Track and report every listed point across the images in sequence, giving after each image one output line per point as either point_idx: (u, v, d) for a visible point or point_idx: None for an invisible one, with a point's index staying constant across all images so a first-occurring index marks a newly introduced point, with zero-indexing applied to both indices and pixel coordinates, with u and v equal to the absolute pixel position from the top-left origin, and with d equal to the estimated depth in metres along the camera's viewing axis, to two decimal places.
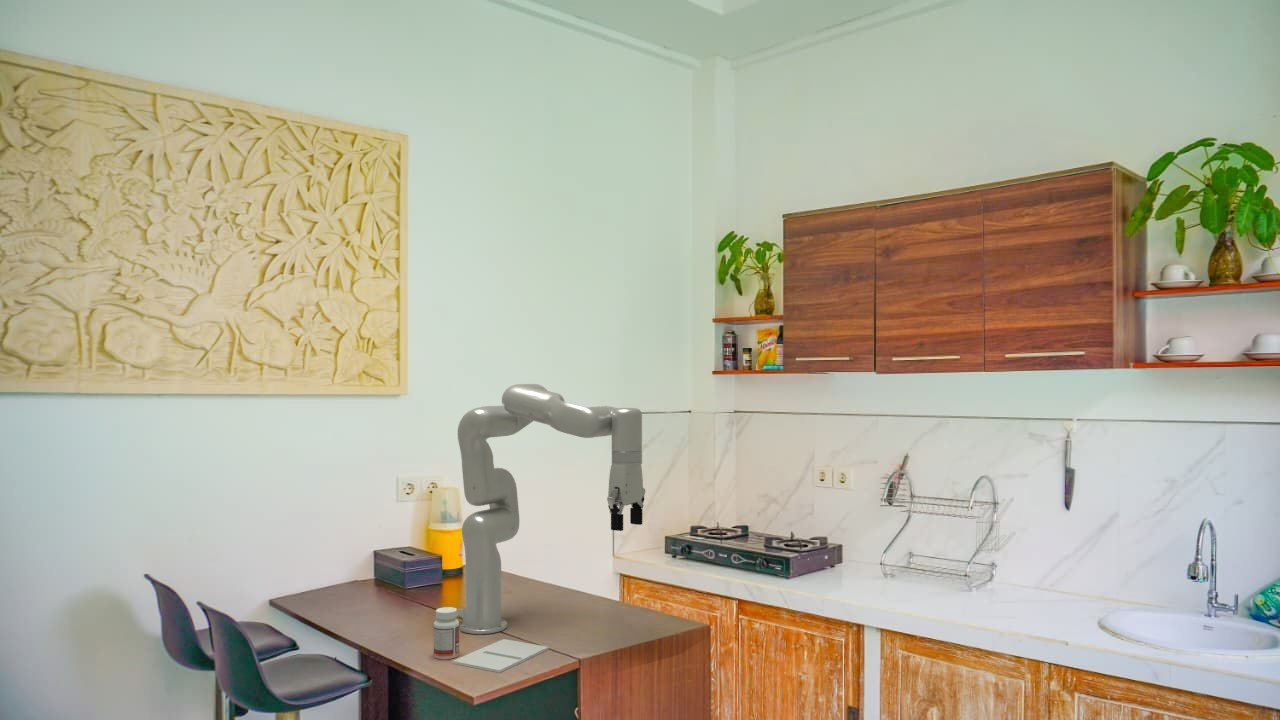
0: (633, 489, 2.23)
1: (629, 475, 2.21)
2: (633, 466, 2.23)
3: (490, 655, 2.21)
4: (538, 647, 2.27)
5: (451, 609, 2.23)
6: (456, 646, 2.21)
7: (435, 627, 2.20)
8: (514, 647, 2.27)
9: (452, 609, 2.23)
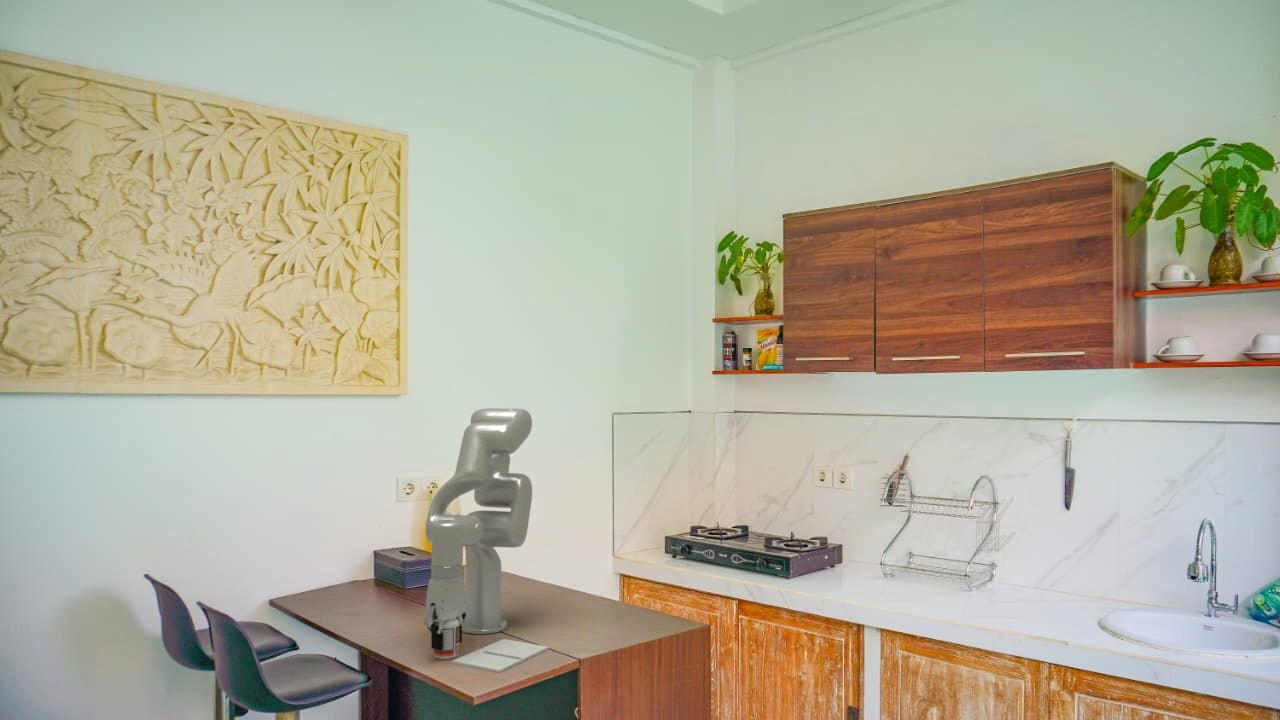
0: (451, 604, 2.20)
1: (446, 591, 2.19)
2: (451, 581, 2.20)
3: (490, 655, 2.21)
4: (538, 647, 2.27)
5: None
6: (456, 646, 2.21)
7: None
8: (514, 647, 2.27)
9: None
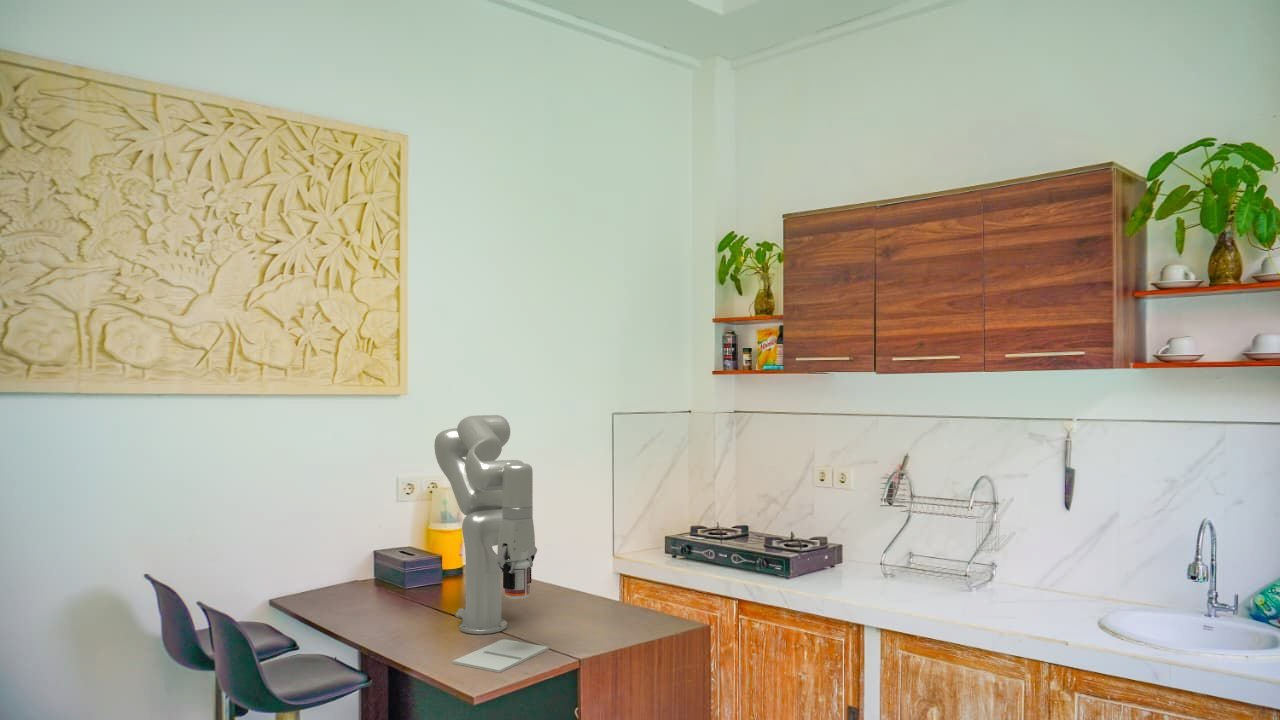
0: (522, 545, 2.24)
1: (518, 531, 2.23)
2: (522, 522, 2.24)
3: (490, 655, 2.21)
4: (538, 647, 2.27)
5: None
6: (527, 586, 2.25)
7: None
8: (514, 647, 2.27)
9: None
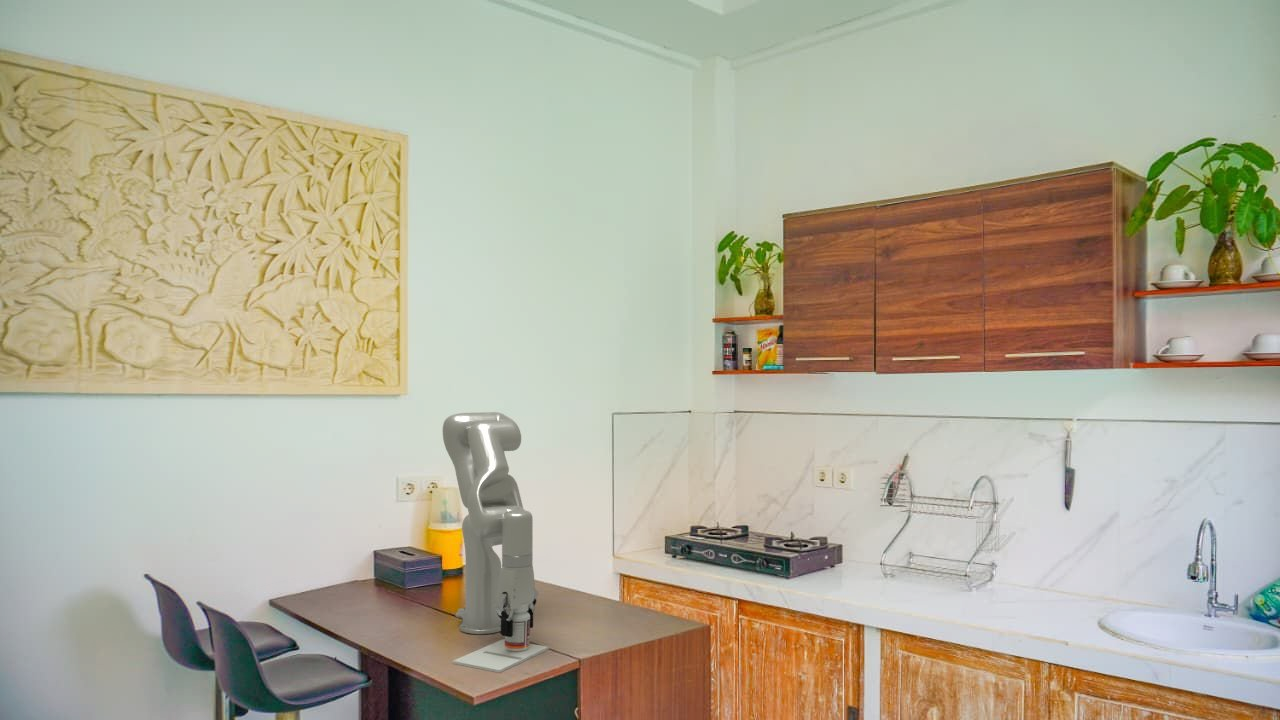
0: (522, 593, 2.24)
1: (518, 580, 2.23)
2: (522, 570, 2.24)
3: (490, 655, 2.21)
4: (538, 647, 2.27)
5: None
6: (527, 639, 2.25)
7: None
8: None
9: None
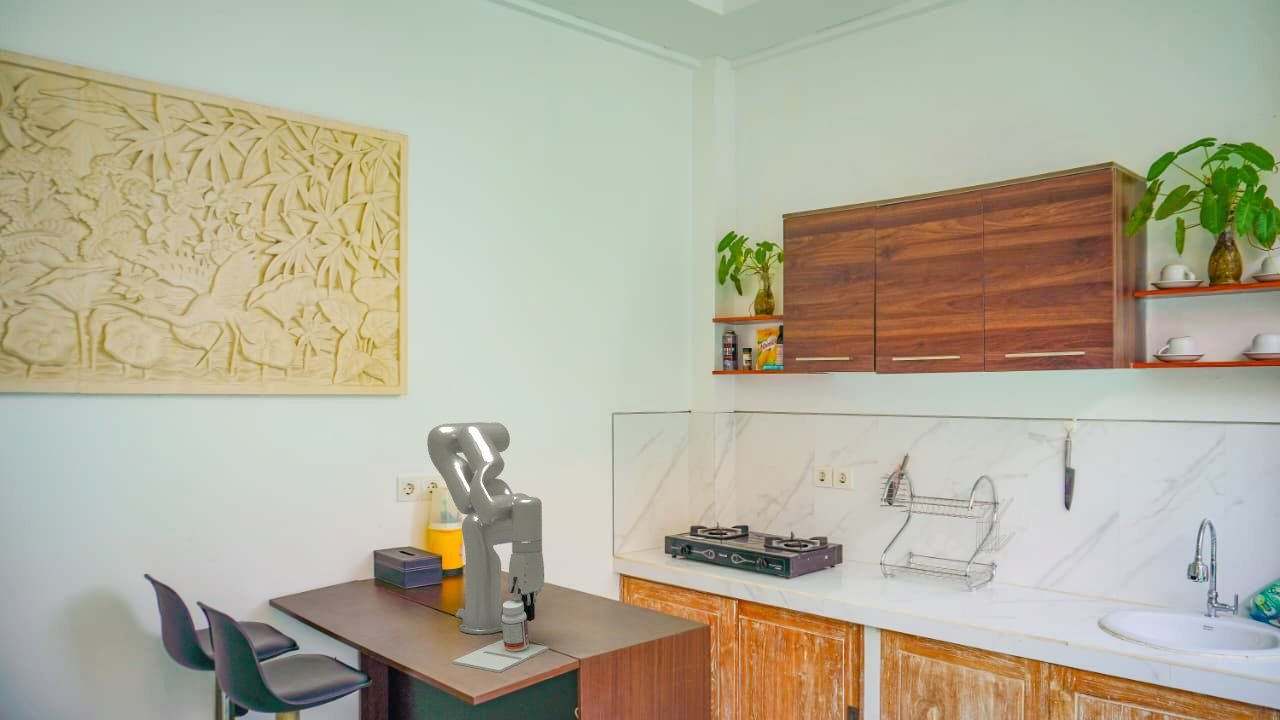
0: (533, 578, 2.27)
1: (528, 565, 2.26)
2: (532, 555, 2.27)
3: (490, 655, 2.21)
4: (538, 647, 2.27)
5: (517, 602, 2.25)
6: (526, 638, 2.24)
7: (504, 622, 2.23)
8: None
9: (518, 602, 2.25)
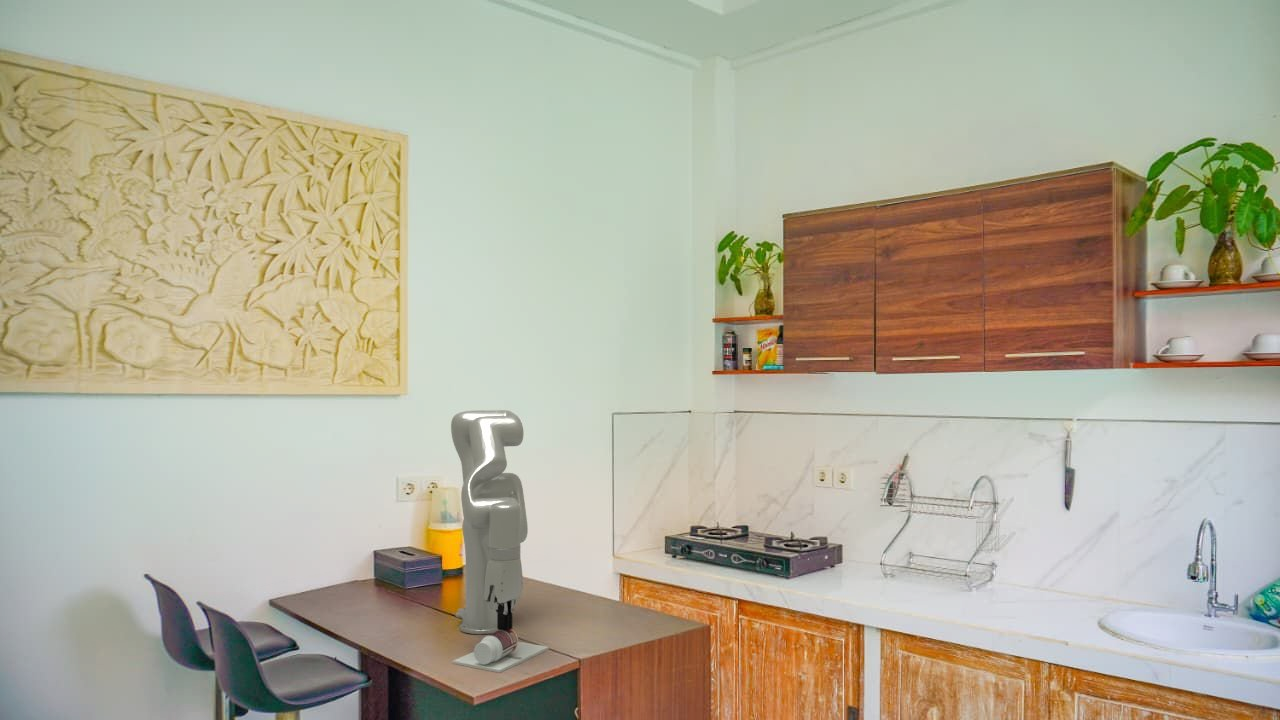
0: (510, 586, 2.19)
1: (505, 573, 2.18)
2: (510, 563, 2.19)
3: None
4: (538, 647, 2.27)
5: (485, 649, 2.13)
6: (513, 643, 2.20)
7: None
8: None
9: (486, 649, 2.12)
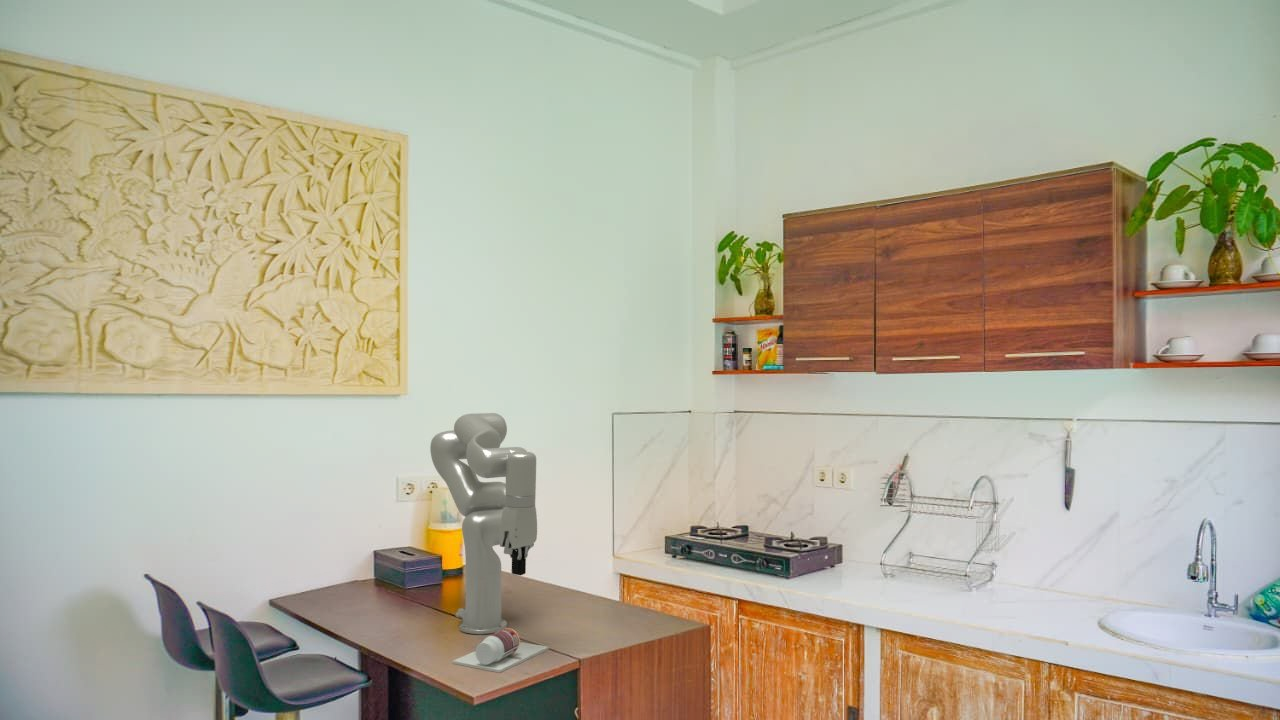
0: (524, 533, 2.26)
1: (520, 519, 2.24)
2: (525, 510, 2.25)
3: None
4: (538, 647, 2.27)
5: (487, 650, 2.12)
6: (514, 645, 2.19)
7: None
8: None
9: (488, 650, 2.12)
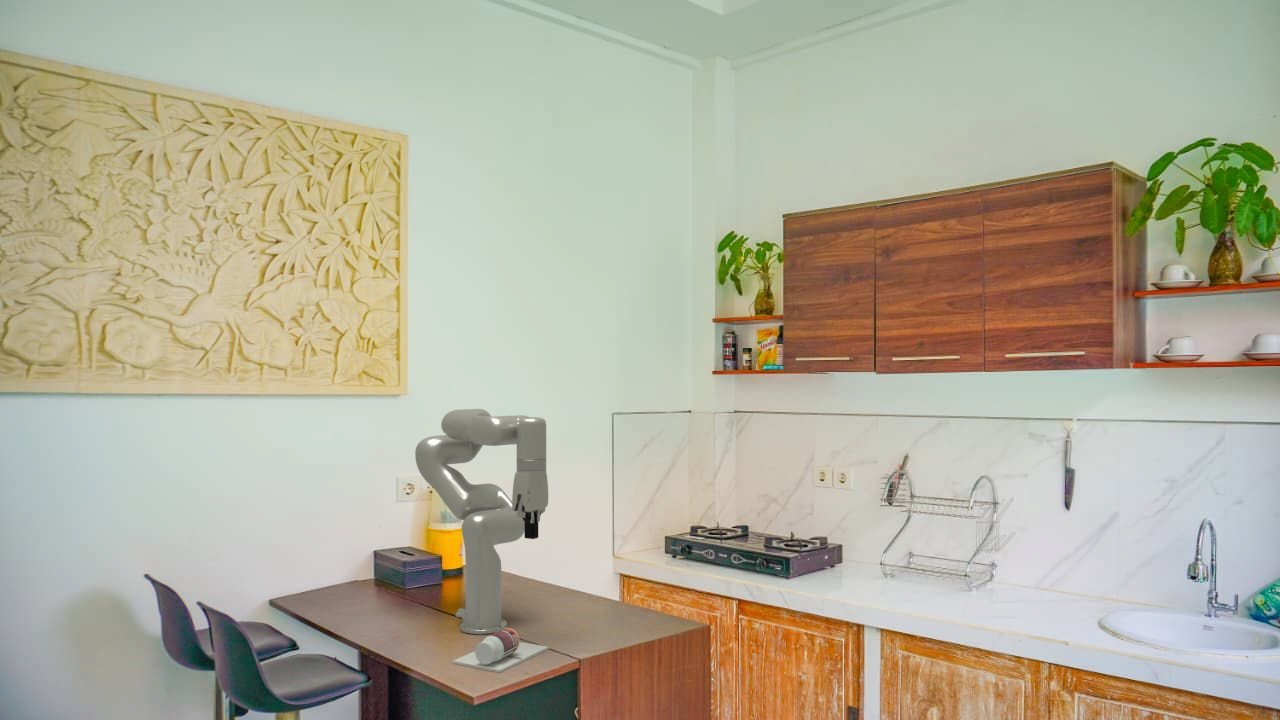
0: (537, 496, 2.30)
1: (532, 483, 2.28)
2: (536, 474, 2.29)
3: None
4: (538, 647, 2.27)
5: (487, 650, 2.12)
6: (514, 645, 2.19)
7: None
8: None
9: (488, 650, 2.12)
